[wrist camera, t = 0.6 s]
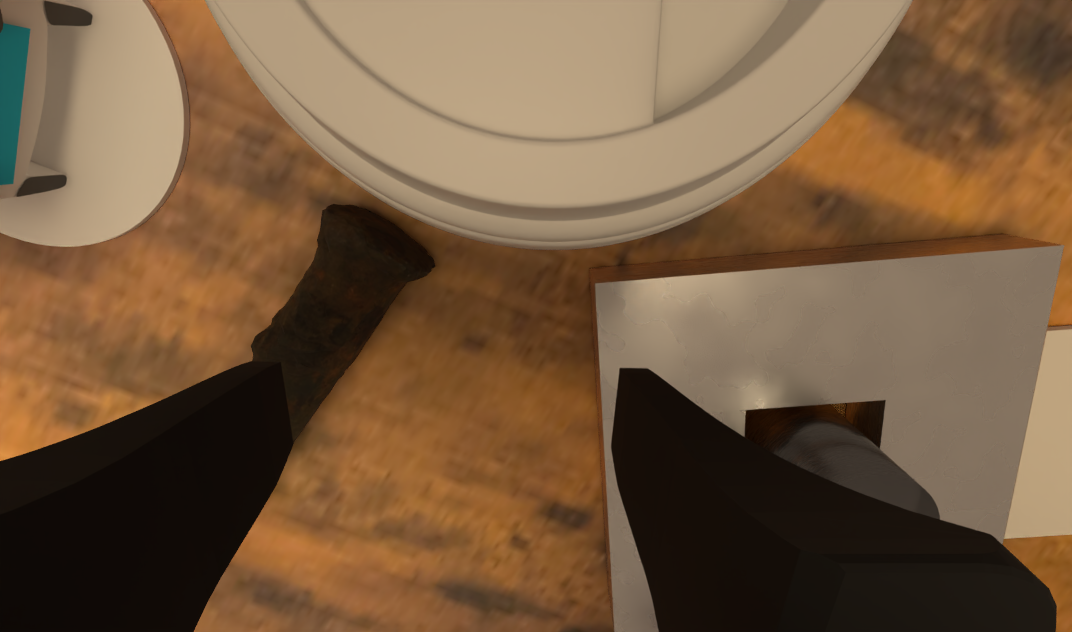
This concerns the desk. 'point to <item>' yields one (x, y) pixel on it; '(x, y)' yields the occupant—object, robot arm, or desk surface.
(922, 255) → the housing block
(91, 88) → the panda figurine
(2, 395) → the desk surface
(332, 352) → the hand tool
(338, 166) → the coffee cup
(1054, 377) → the rubber pad
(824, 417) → the dark metal cylinder
